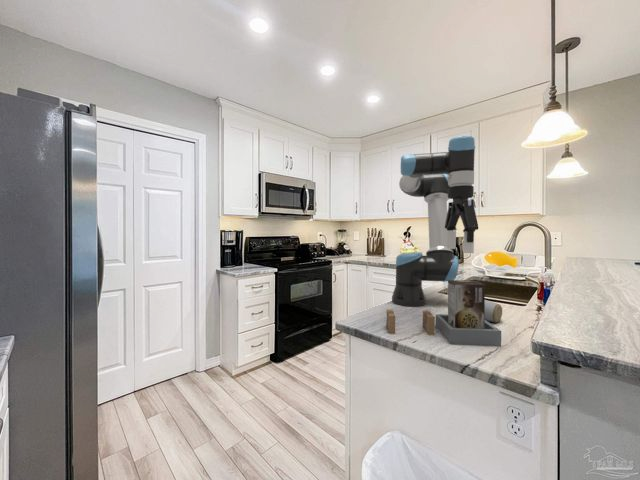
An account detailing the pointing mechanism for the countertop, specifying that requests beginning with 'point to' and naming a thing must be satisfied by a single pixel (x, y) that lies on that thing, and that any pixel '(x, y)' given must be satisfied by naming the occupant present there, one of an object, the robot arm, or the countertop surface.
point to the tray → (468, 333)
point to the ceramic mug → (492, 311)
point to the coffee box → (466, 304)
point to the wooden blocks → (427, 321)
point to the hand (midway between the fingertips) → (459, 250)
